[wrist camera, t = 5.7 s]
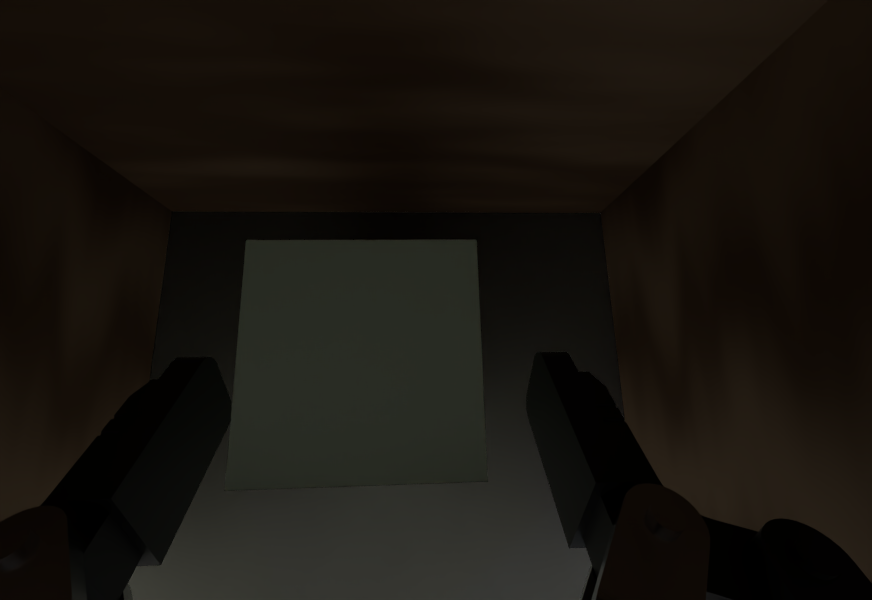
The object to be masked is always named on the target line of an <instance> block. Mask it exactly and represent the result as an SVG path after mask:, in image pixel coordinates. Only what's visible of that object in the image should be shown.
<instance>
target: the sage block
mask: <svg viewBox="0 0 872 600" xmlns="http://www.w3.org/2000/svg"><path fill="white" fill-rule="evenodd" d="M462 482H488V476H487V455H486V433H485V411H484V389H483V367H482V346H481V324H480V302H479V280H478V258H477V240H246V248H245V259H244V271H243V282H242V294H241V306H240V317H239V329H238V340H237V352H236V363H235V375H234V387H233V398H232V410H231V421H230V433H229V444H228V456H227V468H226V479H225V491H235V490H263V489H292V488H320V487H349V486H377V485H405V484H434V483H462Z"/></svg>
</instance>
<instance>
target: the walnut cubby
mask: <svg viewBox="0 0 872 600" xmlns="http://www.w3.org/2000/svg"><path fill="white" fill-rule="evenodd" d="M172 211H190V212H442V213H601V221H602V230H603V238H604V247H605V255H606V263H607V272H608V280H609V289H610V297H611V306H612V314H613V323H614V331H615V340H616V348H617V357H618V365H619V374H620V382H621V391H622V399H623V408H624V416H625V422H626V423H627V424H628V426H629V428H630V430H631V431H632V433H633V435H634V437H635V438H636V440H637V442H638V444H639V445H640V447H641V449H642V451H643V452H644V454H645V456H646V458H647V459H648V461H649V463H650V465H651V466H652V468H653V470H654V472H655V473H656V475H657V477H658V479H659V480H660V482H661V483H662V485H663V486H664V487H666V488H669V489H671V490H673V491H675V492H676V493H678V494H680V495H681V496H682V497H684V498H685V499H686V500H687V501H689V502H690V503H691V504H692V505H693V506H694V507H695V508H696V509H697V511H698V512H699V513H700V515H702V516H705V517H708V518H711V519H714V520H717V521H721V522H725V523H728V524H732V525H736V526H739V527H743V528H747V529H750V530H754V531H759V530H760V529H761V528H762V527H763V526H764V524H765V523H767V522H768V521H770V520H773V519H779V518H783V519H790V520H794V521H798V522H800V523H803V524H806V525H808V526H810V527H812V528H814V529H816V530H817V531H819V532H821V533H822V534H824V535H825V536H827V537H828V538H830V539H831V540H832V541H834V542H835V543H836V544H837V545H838V546H840V547H841V548H842V549H843V550H844V551H845V552H846V553H847V554H848V555H849V556H850V557H851V559H852V560H853V561H854V562H855V563H856V564H857V566H858V567H859V568H860V569H861V571H862V572H863V573H864V574H865V576H866V577H867V578H868V579H869V580H870V582H871V583H872V0H0V522H1V521H3V520H4V519H6V518H8V517H10V516H12V515H14V514H16V513H19V512H21V511H23V510H27V509H30V508H33V507H38V506H40V505H41V504H42V503H43V502H44V501H45V500H46V499H47V497H48V496H49V495H50V494H51V492H52V491H53V490H54V489H55V487H56V486H57V485H58V484H59V483H60V481H61V480H62V479H63V478H64V476H65V475H66V474H67V473H68V471H69V470H70V469H71V468H72V467H73V465H74V464H75V463H76V462H77V460H78V459H79V458H80V457H81V455H82V454H83V453H84V452H85V450H86V449H87V448H88V447H89V446H90V444H91V443H92V442H93V441H94V439H95V438H96V437H97V436H100V435H101V431H102V430H103V428H104V427H105V426H106V425H107V423H108V422H109V421H110V420H111V419H114V415H115V414H116V412H117V411H118V410H119V409H120V407H121V406H122V405H123V404H124V402H125V401H126V400H127V399H128V397H129V396H130V395H132V394H133V393H135V392H136V391H137V390H139V389H140V388H141V387H143V386H144V385H145V384H147V383H148V382H149V380H150V373H151V365H152V358H153V350H154V343H155V335H156V328H157V320H158V313H159V305H160V298H161V290H162V283H163V275H164V268H165V260H166V253H167V245H168V238H169V230H170V223H171V215H172Z"/></svg>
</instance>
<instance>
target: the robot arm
mask: <svg viewBox="0 0 872 600" xmlns="http://www.w3.org/2000/svg"><path fill="white" fill-rule="evenodd" d="M526 407H527V414H528V419H529V422H530V425H531V428H532V431H533V435H534V438H535V441H536V444H537V447H538V450H539V454H540V457H541V460H542V463H543V466H544V470H545V473H546V476H547V479H548V482H549V485H550V489H551V492H552V495H553V498H554V501H555V504H556V508H557V511H558V514H559V517H560V520H561V524H562V527H563V530H564V533H565V536H566V539H567V543H568V546H569V548H586V549H587V551H588V554H589V557H590V560H591V563H592V564H591V566H590V569H589V572H588V575H587V578H586V581H585V585H584V588H583V591H582V594H581V597H580V600H872V583H871V582H870V580H869V579H868V578H867V577H866V576H865V574H864V573H863V572H862V571H861V569H860V568H859V567H858V566H857V564H856V563H855V562H854V561H853V560H852V559H851V557H850V556H849V555H848V554H847V553H846V552H845V551H844V550H843V549H842V548H841V547H840V546H838V545H837V544H836V543H835V542H834V541H832V540H831V539H830V538H828V537H827V536H825V535H824V534H822V533H821V532H819V531H817V530H816V529H814V528H812V527H810V526H808V525H806V524H803V523H800V522H798V521H794V520H790V519H783V518H779V519H773V520H770V521H768V522H767V523H765V524H764V526H763V527H762V528H761V529H760V530H759V531H754V530H750V529H747V528H743V527H739V526H736V525H732V524H728V523H725V522H721V521H717V520H714V519H711V518H708V517H705V516H702V515H700V513H699V512H698V511H697V509H696V508H695V507H694V506H693V505H692V504H691V503H690V502H689V501H687V500H686V499H685V498H684V497H682V496H681V495H680V494H678V493H676V492H675V491H673V490H671V489H669V488H666V487H664V486H663V485H662V483H661V482H660V480H659V479H658V477H657V475H656V473H655V472H654V470H653V468H652V466H651V465H650V463H649V461H648V459H647V458H646V456H645V454H644V452H643V451H642V449H641V447H640V445H639V444H638V442H637V440H636V438H635V437H634V435H633V433H632V431H631V430H630V428H629V426H628V424H627V423H626V422H624V417H623V416H622V414H621V412H620V411H619V409H618V407H616V404H615V402H614V400H613V398H612V397H611V395H610V393H609V391H608V390H607V388H606V386H605V385H604V384H602V383H601V382H600V381H599V380H598V379H597V378H596V377H595V376H593V375H592V374H591V373H590V372H578V370H577V368H576V366H575V364H574V362H573V360H572V358H571V356H570V354H569V353H568V352H537V353H536V354H535V357H534V361H533V366H532V371H531V376H530V381H529V385H528V390H527V397H526ZM231 410H232V406H231V400H230V397H229V394H228V392H227V389H226V386H225V384H224V381H223V378H222V376H221V373H220V370H219V368H218V365H217V362H216V361H215V359H214V358H212V357H182V358H176V359H174V360H173V361H172V362H171V363H170V365H169V366H168V367H167V369H166V370H165V371H164V373H163V374H162V375H161V377H160V378H159V379H157V380H151V381H149V382H148V383H147V384H145V385H144V386H143V387H141V388H140V389H139V390H137V391H136V392H135V393H133V394H132V395H130V396H129V397H128V399H127V400H126V401H125V402H124V404H123V405H122V406H121V407H120V409H119V410H118V411H117V412H116V414H115V415H114V419H111V420H110V421H109V422H108V423H107V425H106V426H105V427H104V428H103V430H102V431H101V435H100V436H97V437H96V438H95V439H94V441H93V442H92V443H91V444H90V446H89V447H88V448H87V449H86V450H85V452H84V453H83V454H82V455H81V457H80V458H79V459H78V460H77V462H76V463H75V464H74V465H73V467H72V468H71V469H70V470H69V471H68V473H67V474H66V475H65V476H64V478H63V479H62V480H61V481H60V483H59V484H58V485H57V486H56V487H55V489H54V490H53V491H52V492H51V494H50V495H49V496H48V497H47V499H46V500H45V501H44V502H43V503H42V504H41V505H40V506H38V507H33V508H30V509H27V510H23V511H21V512H19V513H16V514H14V515H12V516H10V517H8V518H6V519H4V520H3V521H1V522H0V600H133V597H132V591H131V588H130V586H129V584H128V582H129V580H130V578H131V576H132V574H133V572H134V570H135V568H136V566H149V565H161V563H162V561H163V559H164V557H165V555H166V553H167V551H168V549H169V547H170V545H171V543H172V541H173V539H174V536H175V534H176V532H177V530H178V528H179V526H180V524H181V522H182V520H183V518H184V516H185V514H186V512H187V510H188V508H189V506H190V504H191V502H192V499H193V497H194V495H195V493H196V491H197V489H198V487H199V485H200V483H201V481H202V479H203V477H204V475H205V473H206V471H207V469H208V467H209V464H210V462H211V460H212V458H213V456H214V454H215V452H216V450H217V448H218V446H219V444H220V442H221V440H222V438H223V436H224V434H225V432H226V430H227V427H228V425H229V422H230V419H231Z"/></svg>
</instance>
